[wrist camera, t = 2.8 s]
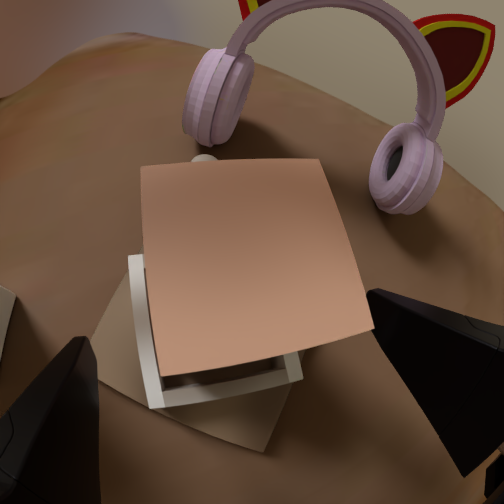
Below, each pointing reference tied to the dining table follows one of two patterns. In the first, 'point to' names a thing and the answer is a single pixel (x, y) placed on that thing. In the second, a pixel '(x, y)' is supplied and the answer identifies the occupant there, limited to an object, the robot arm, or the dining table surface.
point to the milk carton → (5, 313)
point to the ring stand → (194, 383)
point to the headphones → (399, 137)
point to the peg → (245, 262)
